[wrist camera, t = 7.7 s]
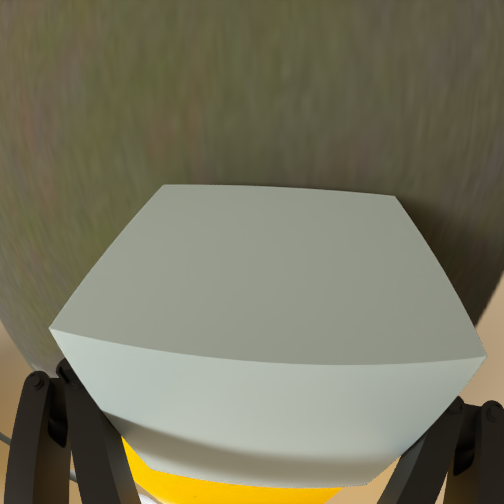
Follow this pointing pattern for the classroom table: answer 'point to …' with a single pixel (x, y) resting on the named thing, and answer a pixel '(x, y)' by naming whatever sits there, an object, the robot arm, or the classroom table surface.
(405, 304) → the rounded gray box
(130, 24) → the classroom table surface
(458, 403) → the robot arm
